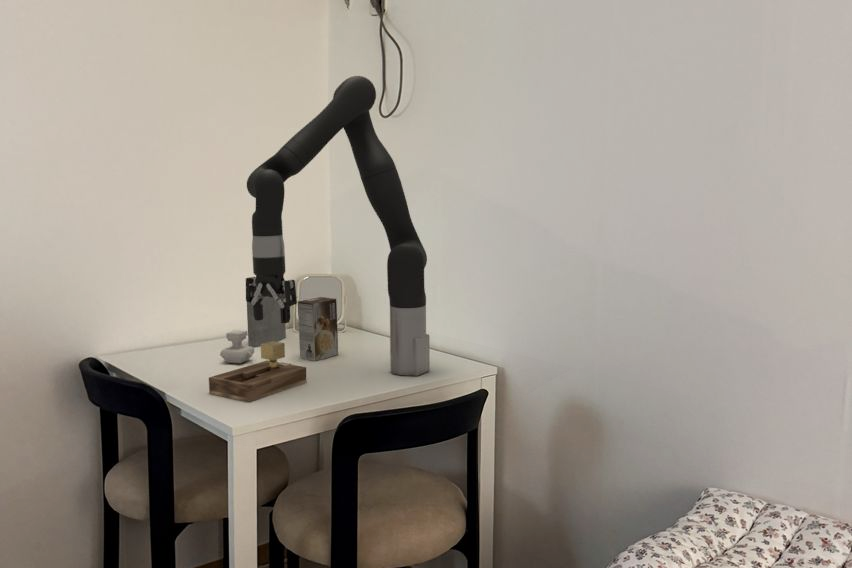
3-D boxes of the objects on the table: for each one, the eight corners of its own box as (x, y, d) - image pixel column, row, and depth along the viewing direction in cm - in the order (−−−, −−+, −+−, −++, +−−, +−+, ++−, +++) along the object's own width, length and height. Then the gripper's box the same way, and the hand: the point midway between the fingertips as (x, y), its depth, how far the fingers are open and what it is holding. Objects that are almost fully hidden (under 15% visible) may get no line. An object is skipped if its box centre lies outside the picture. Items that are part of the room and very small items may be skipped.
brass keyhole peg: (286, 378, 187) (285, 342, 185) (273, 383, 183) (272, 346, 182) (273, 376, 189) (272, 340, 188) (260, 380, 185) (259, 344, 184)
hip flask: (279, 336, 238) (277, 272, 235) (290, 337, 237) (288, 273, 234) (246, 347, 224) (243, 279, 221) (257, 348, 223) (254, 280, 220)
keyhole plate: (306, 382, 186) (306, 366, 186) (249, 402, 171) (248, 384, 170) (267, 374, 193) (267, 359, 193) (209, 393, 178) (208, 376, 177)
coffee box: (322, 352, 218) (321, 296, 215) (338, 355, 214) (337, 298, 211) (298, 358, 210) (297, 300, 208) (315, 361, 207) (313, 303, 204)
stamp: (216, 363, 205) (215, 333, 204) (230, 357, 211) (229, 328, 210) (245, 366, 202) (244, 335, 201) (258, 360, 208) (257, 330, 207)
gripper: (302, 254, 181) (304, 321, 183) (258, 251, 188) (261, 316, 190) (280, 257, 174) (283, 327, 177) (235, 254, 182) (239, 321, 184)
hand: (271, 321), depth 183 cm, fingers open, 8 cm apart
